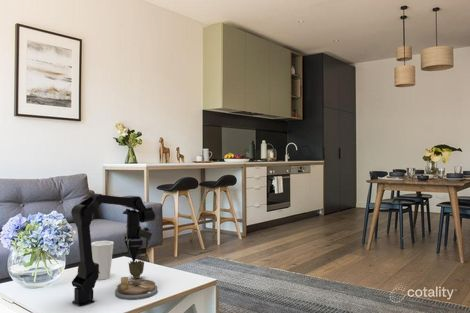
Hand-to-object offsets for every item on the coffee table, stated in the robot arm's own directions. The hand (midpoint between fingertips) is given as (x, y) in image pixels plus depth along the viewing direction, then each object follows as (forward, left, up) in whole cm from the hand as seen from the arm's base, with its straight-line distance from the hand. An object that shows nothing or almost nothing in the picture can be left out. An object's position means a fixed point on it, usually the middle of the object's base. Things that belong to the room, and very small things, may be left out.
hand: (132, 258), depth 182 cm
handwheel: (-3, -6, -12) cm, 14 cm away
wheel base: (-3, -7, -13) cm, 15 cm away
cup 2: (+10, +10, -14) cm, 20 cm away
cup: (0, +24, -14) cm, 28 cm away
